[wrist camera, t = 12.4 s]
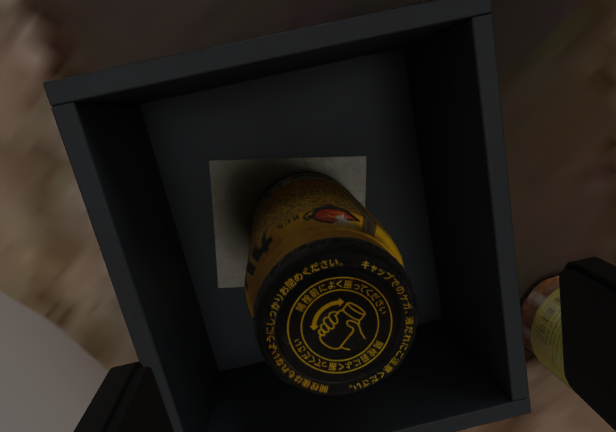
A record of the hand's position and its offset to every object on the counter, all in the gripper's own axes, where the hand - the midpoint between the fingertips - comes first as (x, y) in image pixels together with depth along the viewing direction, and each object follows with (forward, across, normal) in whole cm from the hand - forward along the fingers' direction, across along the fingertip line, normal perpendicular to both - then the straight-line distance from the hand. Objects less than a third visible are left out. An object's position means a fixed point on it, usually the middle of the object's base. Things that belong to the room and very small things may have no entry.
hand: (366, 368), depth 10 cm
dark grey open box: (+16, 0, +1) cm, 16 cm away
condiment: (+16, +1, +1) cm, 16 cm away
